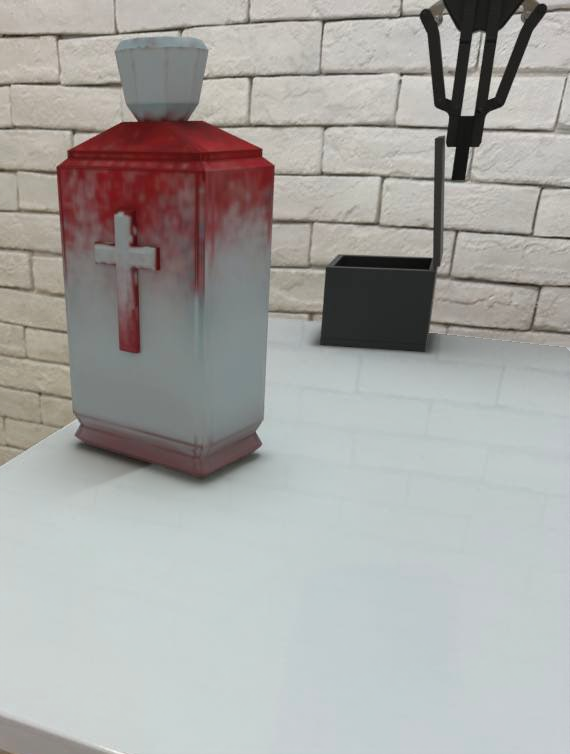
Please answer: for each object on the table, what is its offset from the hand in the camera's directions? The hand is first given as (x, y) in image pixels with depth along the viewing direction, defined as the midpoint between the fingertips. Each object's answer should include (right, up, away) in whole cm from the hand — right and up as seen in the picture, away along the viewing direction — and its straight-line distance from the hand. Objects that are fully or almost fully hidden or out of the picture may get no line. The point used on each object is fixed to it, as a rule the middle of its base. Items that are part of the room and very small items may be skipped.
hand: (458, 179), depth 94 cm
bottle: (-34, -34, -24) cm, 53 cm away
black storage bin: (-7, -16, +11) cm, 20 cm away
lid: (-2, -2, +2) cm, 3 cm away
